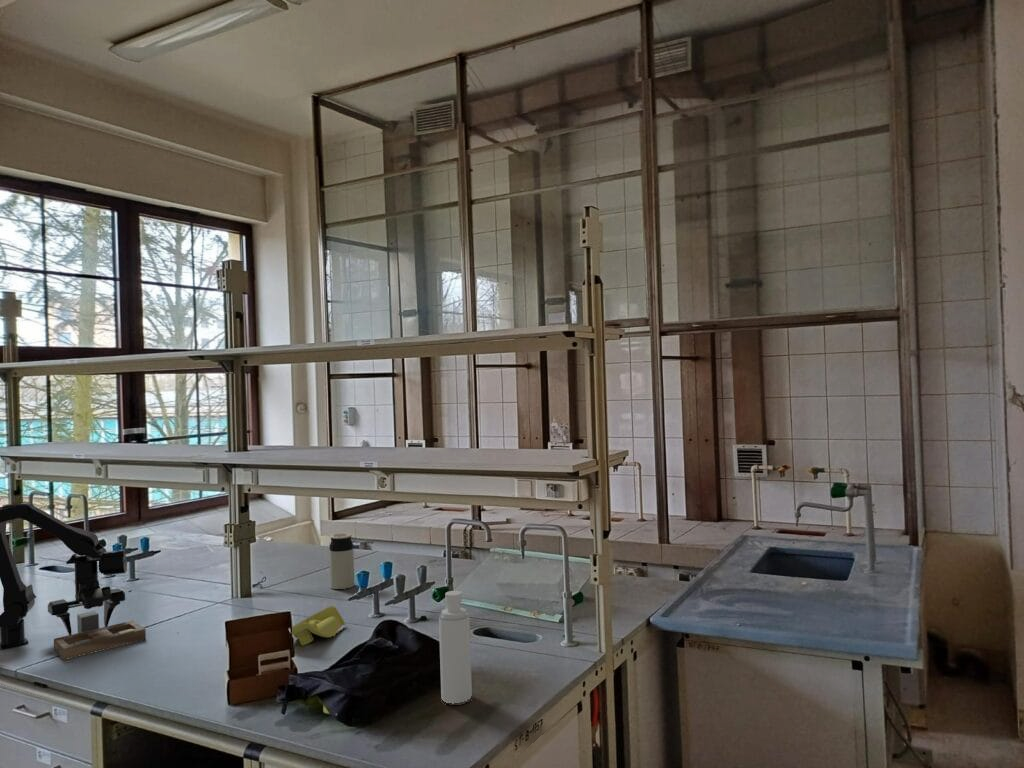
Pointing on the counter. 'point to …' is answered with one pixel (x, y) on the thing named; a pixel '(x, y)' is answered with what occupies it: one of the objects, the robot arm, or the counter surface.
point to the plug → (87, 621)
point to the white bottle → (455, 650)
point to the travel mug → (341, 561)
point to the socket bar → (99, 639)
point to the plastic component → (318, 625)
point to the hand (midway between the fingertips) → (88, 631)
